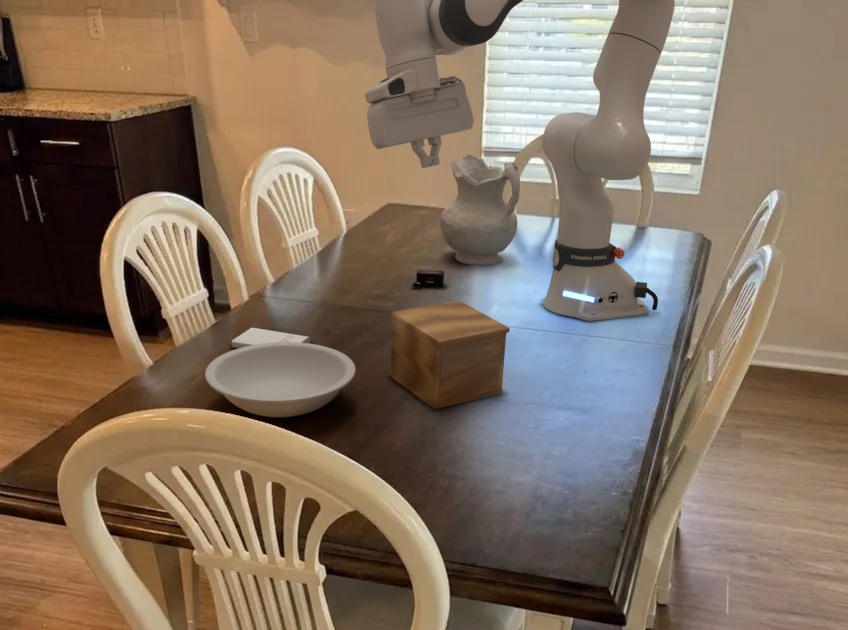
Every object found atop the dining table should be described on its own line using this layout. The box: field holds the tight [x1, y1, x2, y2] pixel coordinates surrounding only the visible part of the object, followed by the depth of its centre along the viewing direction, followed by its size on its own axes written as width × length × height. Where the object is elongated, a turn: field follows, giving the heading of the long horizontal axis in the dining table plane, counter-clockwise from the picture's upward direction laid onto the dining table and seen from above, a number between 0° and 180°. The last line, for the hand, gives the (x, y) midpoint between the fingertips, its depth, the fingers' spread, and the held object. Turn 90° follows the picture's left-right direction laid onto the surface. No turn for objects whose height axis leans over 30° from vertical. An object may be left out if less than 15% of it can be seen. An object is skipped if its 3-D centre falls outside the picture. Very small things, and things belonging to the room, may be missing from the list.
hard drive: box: [231, 327, 311, 349], centre depth 163 cm, size 2×8×12 cm
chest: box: [390, 316, 507, 410], centre depth 147 cm, size 15×14×11 cm
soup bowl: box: [204, 342, 356, 418], centre depth 139 cm, size 24×24×7 cm
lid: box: [391, 299, 511, 346], centre depth 143 cm, size 16×14×1 cm
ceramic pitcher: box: [440, 154, 521, 266], centre depth 212 cm, size 22×20×25 cm
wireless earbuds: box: [411, 269, 445, 288], centre depth 196 cm, size 5×7×3 cm, turn 85°
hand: (430, 166), depth 152 cm, fingers closed
